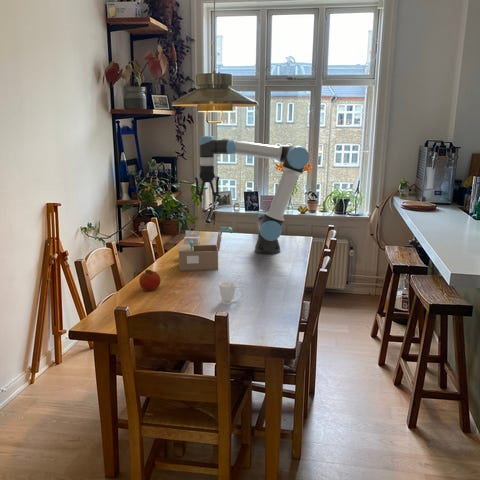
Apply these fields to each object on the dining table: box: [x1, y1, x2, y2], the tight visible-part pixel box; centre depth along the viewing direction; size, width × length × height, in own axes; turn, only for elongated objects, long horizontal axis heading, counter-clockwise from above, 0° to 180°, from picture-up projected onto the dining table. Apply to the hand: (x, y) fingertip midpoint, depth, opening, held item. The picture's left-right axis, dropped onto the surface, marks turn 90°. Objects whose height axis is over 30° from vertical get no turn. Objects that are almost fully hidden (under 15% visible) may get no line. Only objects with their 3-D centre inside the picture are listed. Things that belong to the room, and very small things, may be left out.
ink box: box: [183, 230, 201, 245], centre depth 265 cm, size 9×5×15 cm, turn 84°
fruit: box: [138, 269, 161, 292], centre depth 212 cm, size 10×10×10 cm
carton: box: [178, 244, 219, 272], centre depth 246 cm, size 20×14×10 cm
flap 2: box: [215, 226, 234, 252], centre depth 246 cm, size 11×14×7 cm
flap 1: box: [178, 240, 194, 253], centre depth 244 cm, size 8×14×5 cm, turn 7°
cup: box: [218, 281, 244, 305], centre depth 197 cm, size 7×10×8 cm
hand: (207, 207), depth 258 cm, fingers open, 5 cm apart
